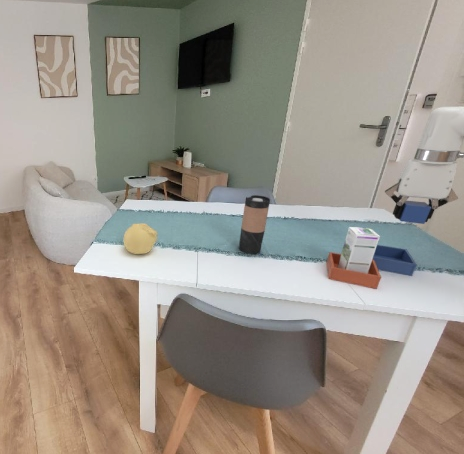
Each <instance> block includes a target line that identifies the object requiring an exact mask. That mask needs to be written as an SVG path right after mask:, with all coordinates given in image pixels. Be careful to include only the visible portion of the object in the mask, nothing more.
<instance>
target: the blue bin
mask: <svg viewBox="0 0 464 454" xmlns="http://www.w3.org/2000/svg"><path fill="white" fill-rule="evenodd" d="M372 260H374V261H375V263H376V266H377V268H378V271H382V272H387V273H394V274H399V275H403V276H409V277H412V276H413V274H414V273H415V270H416V269H417V263H416V261H415V259H414V258H413V257H412V255H411V253H410V252H409V250H408V249H407V248H401V247H394V246H388V245H381V244H377V247H376V250H375V253H374V256H373V259H372Z"/></svg>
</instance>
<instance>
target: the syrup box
mask: <svg viewBox="0 0 464 454" xmlns="http://www.w3.org/2000/svg"><path fill="white" fill-rule="evenodd" d="M347 229H348V230H347V233H346V236H345V238H344V243H343V247H342V249H341V253H340V254H341V256H340V260H339V263H338V267H337V268H341V269H346V270H351V271H356V272H362V273H368V271H369V268H370V265H371V262H372V259H373V256H374V253H375V250H376V247H377V245H379V240H380V238H381V236H380V235H379V234H378V233H377V232H375V230H374V229H372V228H370V227H364V226H363V227H361V226H348V228H347Z"/></svg>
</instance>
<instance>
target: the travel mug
mask: <svg viewBox="0 0 464 454" xmlns="http://www.w3.org/2000/svg"><path fill="white" fill-rule="evenodd" d="M270 201H271V198H269V197H267V196H264V195H257V194H254V195H250V196H246V197H245V201H244V207H243V214H242V219H241V225H240V235H239V244H238V249H239V251H240V252H242V253H244V254H247V255H248V254H249V255H257V254H259V253H261V250H262V249H261V248H262V246H263V240H264V236H265V232H266V227H267V219H268V214H269V209H270V203H271V202H270Z"/></svg>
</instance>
